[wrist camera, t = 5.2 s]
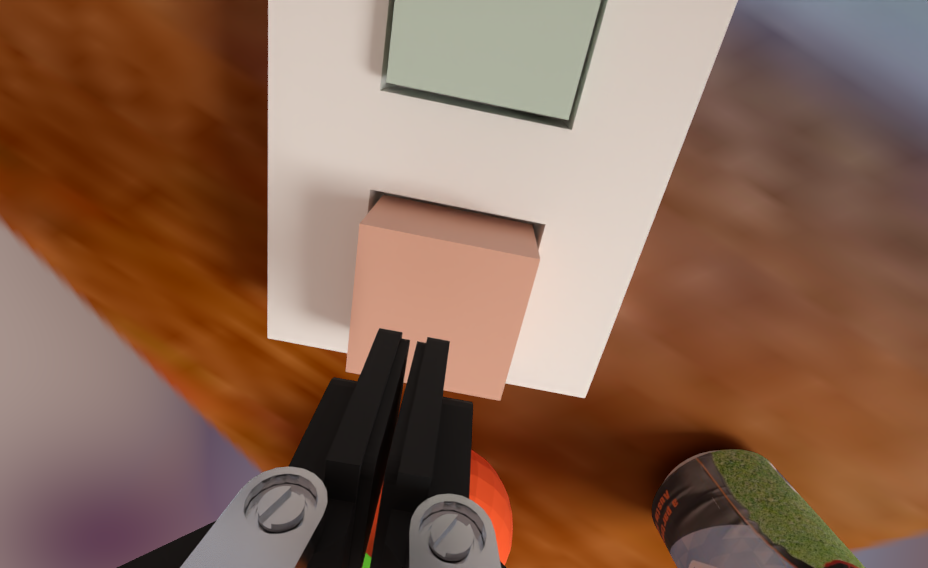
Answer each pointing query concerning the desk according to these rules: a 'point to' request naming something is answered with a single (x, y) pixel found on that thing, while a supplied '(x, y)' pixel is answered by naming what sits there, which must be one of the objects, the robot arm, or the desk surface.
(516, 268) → the terracotta button
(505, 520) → the clementine
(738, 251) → the desk surface
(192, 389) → the desk surface
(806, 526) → the beverage can
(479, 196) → the panel
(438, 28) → the sage button
